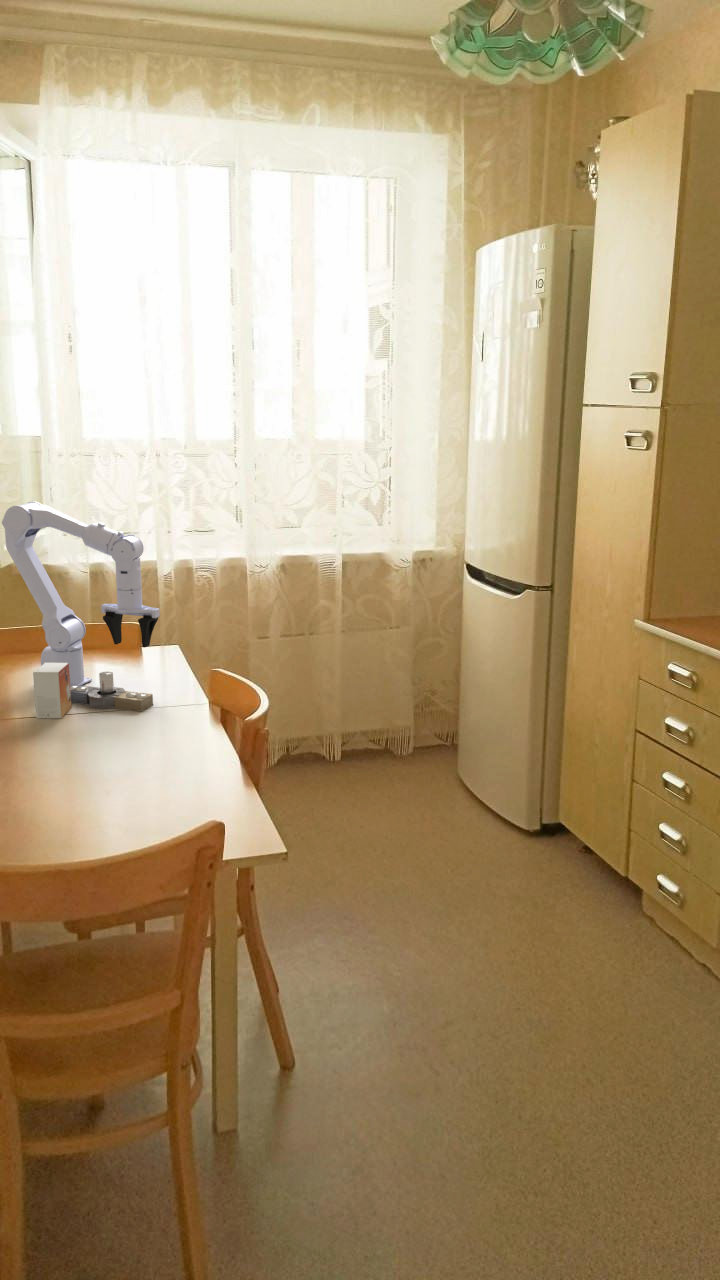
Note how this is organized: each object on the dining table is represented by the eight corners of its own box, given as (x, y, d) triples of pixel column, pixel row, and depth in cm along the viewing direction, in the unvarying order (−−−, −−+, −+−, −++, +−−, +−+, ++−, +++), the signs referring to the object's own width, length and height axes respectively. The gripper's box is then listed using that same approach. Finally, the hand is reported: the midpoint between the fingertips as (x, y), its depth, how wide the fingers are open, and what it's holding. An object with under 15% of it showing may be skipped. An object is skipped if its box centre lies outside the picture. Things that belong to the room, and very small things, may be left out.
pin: (98, 704, 230) (96, 674, 228) (106, 700, 233) (105, 670, 231) (108, 705, 229) (106, 676, 227) (117, 702, 231) (115, 672, 229)
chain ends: (57, 703, 230) (56, 690, 229) (78, 693, 237) (77, 681, 237) (137, 713, 223) (137, 700, 223) (156, 703, 231) (156, 690, 230)
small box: (61, 719, 219) (58, 672, 217) (35, 718, 220) (32, 671, 217) (72, 707, 227) (69, 662, 225) (47, 707, 227) (44, 661, 225)
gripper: (92, 589, 235) (95, 646, 239) (147, 593, 231) (150, 651, 234) (109, 583, 242) (112, 639, 245) (163, 588, 237) (165, 644, 241)
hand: (131, 644), depth 240 cm, fingers open, 7 cm apart
